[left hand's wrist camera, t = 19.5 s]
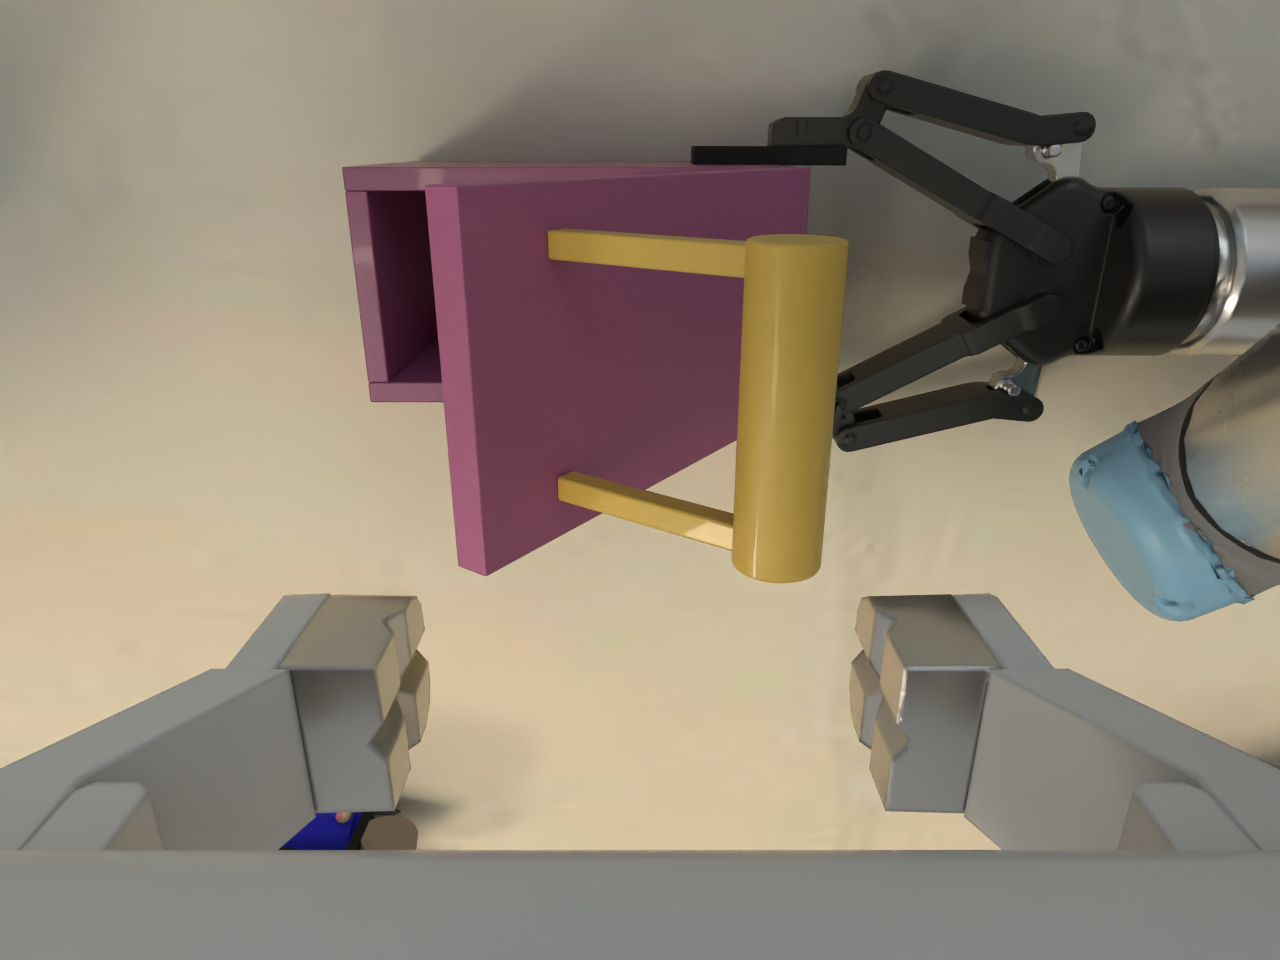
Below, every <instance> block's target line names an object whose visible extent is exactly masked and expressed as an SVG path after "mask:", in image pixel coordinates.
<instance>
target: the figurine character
mask: <svg viewBox="0 0 1280 960" xmlns="http://www.w3.org/2000/svg"><path fill="white" fill-rule="evenodd" d="M356 813H357V816H356ZM356 813H352V812H340V813H315V818H314V819H313V820H312V821H311V822H310V823H308V824H307V825H306V826H305V827H304V828H303V829H302V830H300V831H299V832H298V833H297V834H296V835H295V836H293V837H292V838H291V839H290V840H289V841H288V842H287V843H285V844H284V845H283V846H282V847H281V848H280V849H278V850H416V846H417V837H418V831H417V828H416V826H415V825H414V824H413V823H412V822H411V821H410V820H408V819H406V818H403V817H400V816H393V815H395V814H398V813H400V811H399V810H397V809H395V811H376V812H356ZM374 815H387V816H381V817H377V818H374Z"/></svg>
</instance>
